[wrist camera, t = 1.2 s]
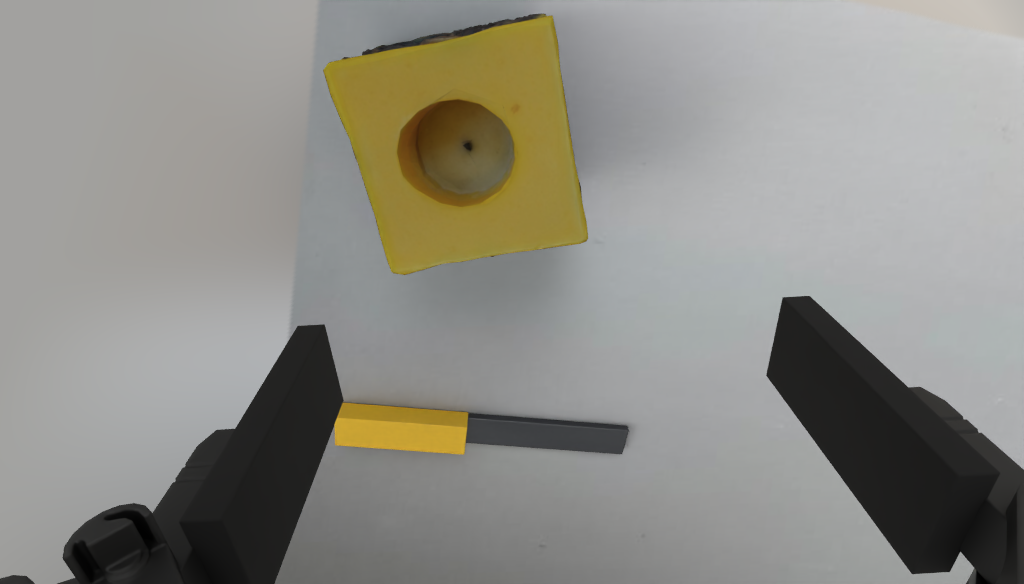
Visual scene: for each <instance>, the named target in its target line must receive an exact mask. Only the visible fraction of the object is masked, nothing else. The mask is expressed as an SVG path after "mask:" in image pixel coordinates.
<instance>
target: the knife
mask: <svg viewBox="0 0 1024 584" xmlns="http://www.w3.org/2000/svg"><path fill="white" fill-rule="evenodd" d="M628 432H629V430H628V427H627V426H622V425H609V424H596V423H584V422H571V421H558V420H545V419H532V418H520V417H507V416H494V415H481V414H468V412H457V411H444V410H432V409H419V408H406V407H393V406H381V405H368V404H355V403H342V406H341V408H340V411H339V414H338V416H337V419H336V422H335V445H339V446H352V447H366V448H380V449H394V450H408V451H422V452H436V453H450V454H464V453H465V444H466V443H477V444H490V445H504V446H517V447H531V448H545V449H558V450H572V451H585V452H599V453H612V454H622V452H623V449H624V445H625V442H626V438H627V435H628Z"/></svg>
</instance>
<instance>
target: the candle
mask: <svg viewBox="0 0 1024 584" xmlns="http://www.w3.org/2000/svg"><path fill="white" fill-rule="evenodd" d="M323 71H324V74H325V78H326V81H327V84H328V88H329V91H330V94H331V97H332V99H333V102H334V104H335V107H336V109H337V112H338V114H339V117H340V119H341V121H342V124H343V126H344V128H345V130H346V132H347V134H348V136H349V139H350V141H351V145H352V148H353V151H354V155H355V158H356V160H357V162H358V165H359V169H360V172H361V175H362V178H363V181H364V184H365V188H366V191H367V194H368V197H369V200H370V203H371V206H372V208H373V211H374V214H375V218H376V222H377V226H378V230H379V233H380V237H381V241H382V244H383V247H384V251H385V254H386V258H387V261H388V264H389V266H390V269H391V271H392V272H393V273H396V274H403V275H406V274H410V273H413V272H417V271H421V270H424V269H427V268H431V267H434V266H437V265H440V264H443V263H453V262H463V261H468V260H473V259H477V258H483V257H489V256H490V257H493V256H495V255H501V254H507V253H514V252H522V251H530V250H538V249H545V248H552V247H559V246H566V245H574V244H580V243H583V242H585V241H587V239H588V233H587V224H586V218H585V214H584V209H583V204H582V197H581V186H580V183H579V180H578V175H577V171H576V166H575V160H574V154H573V148H572V141H571V135H570V128H569V122H568V115H567V109H566V102H565V95H564V89H563V83H562V77H561V72H560V62H559V50H558V41H557V36H556V31H555V26H554V21H553V16H546V14H533V15H529V16H527V17H526V16H524V17H523V18H522V17H521V18H516V19H515V20H509V19H507V20H502V21H498V22H494V23H489V24H488V25H483V26H482V25H478V26H474V27H469V28H466V29H464V30H459V31H454V32H452V33H441V34H434V35H429V36H425V37H420V38H418V39H415V40H412V41H408V42H401V43H396V44H393V45H388V46H385V45H381V46H379V47H376V48H374V49H372V50H369V49H368V50H366V51H365V52H363V54H362V56H358V57H352V58H348V57H344V58H343V59H341V60H338V61H334V62H330V63H328V64H327V66H326V67H325V69H324V70H323Z"/></svg>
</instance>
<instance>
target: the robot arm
mask: <svg viewBox="0 0 1024 584" xmlns="http://www.w3.org/2000/svg"><path fill="white" fill-rule="evenodd" d="M766 376H767V377H768V378H769V380H770V381H771V382H772V384H773V385H774V386H775V388H776V389H777V391H778V392H779V393H780V395H781V396H782V397H783V399H784V400H785V401H786V403H787V404H788V406H789V407H790V408H791V410H792V411H793V412H794V414H795V415H796V416H797V418H798V419H799V421H800V422H801V423H802V425H803V426H804V427H805V429H806V430H807V431H808V433H809V434H810V436H811V437H812V438H813V440H814V441H815V442H816V444H817V445H818V446H819V448H820V449H821V451H822V452H823V453H824V455H825V456H826V457H827V459H828V460H829V461H830V463H831V464H832V466H833V467H834V468H835V470H836V471H837V472H838V474H839V475H840V476H841V478H842V479H843V481H844V482H845V483H846V485H847V486H848V487H849V489H850V490H851V491H852V493H853V494H854V496H855V497H856V498H857V500H858V501H859V502H860V504H861V505H862V506H863V508H864V509H865V511H866V512H867V513H868V515H869V516H870V517H871V519H872V520H873V521H874V523H875V524H876V526H877V527H878V528H879V530H880V531H881V532H882V534H883V535H884V536H885V538H886V539H887V541H888V542H889V543H890V545H891V546H892V547H893V549H894V550H895V551H896V553H897V554H898V556H899V557H900V558H901V560H902V561H903V562H904V564H905V565H906V566H907V568H908V569H909V571H910V572H911V573H912V574H920V573H937V572H950V570H951V568H952V566H953V565H954V563H955V561H956V559H957V557H958V555H959V553H960V551H961V552H962V554H963V555H964V556H965V557H966V558H967V560H968V561H969V562H970V563H971V564H972V565H973V567H974V570H973V572H972V574H971V576H970V578H969V579H968V581H967V583H966V584H1024V470H1023V469H1022V468H1021V467H1020V466H1019V465H1017V464H1016V463H1015V462H1014V461H1013V460H1012V459H1011V458H1010V457H1008V456H1007V455H1006V454H1005V453H1004V452H1003V451H1002V450H1000V449H999V448H998V447H997V446H996V445H995V444H994V443H992V442H991V441H990V440H989V439H988V438H987V437H986V436H985V435H983V434H982V433H978V429H977V428H975V427H974V426H973V425H972V424H971V423H970V422H969V421H967V420H964V419H963V416H962V415H961V414H960V413H958V412H957V411H956V410H955V409H954V408H953V407H952V406H950V405H949V404H948V403H947V402H946V401H945V400H943V399H941V398H939V397H938V396H936V395H934V394H932V393H930V392H928V391H927V390H925V389H923V388H921V387H911V388H908V387H907V386H906V385H905V384H904V383H903V382H902V381H901V380H900V379H899V378H898V377H896V376H895V375H894V374H893V373H892V372H891V371H890V370H889V369H888V368H887V367H886V366H885V365H883V364H882V363H881V362H880V361H879V360H878V359H877V358H876V357H875V356H874V355H873V354H872V353H871V352H869V351H868V350H867V349H866V348H865V347H864V346H863V345H862V344H861V343H860V342H859V341H858V340H856V339H855V338H854V337H853V336H852V335H851V334H850V333H849V332H848V331H847V330H846V329H845V328H844V327H842V326H841V325H840V324H839V323H838V322H837V321H836V320H835V319H834V318H833V317H832V316H831V315H829V314H828V313H827V312H826V311H825V310H824V309H823V308H822V307H821V306H820V305H819V304H818V303H817V302H815V301H814V300H813V299H812V298H811V297H810V296H801V297H784V298H783V299H782V304H781V308H780V313H779V318H778V323H777V328H776V332H775V337H774V342H773V347H772V351H771V356H770V361H769V366H768V370H767V375H766ZM342 403H343V397H342V393H341V388H340V384H339V380H338V376H337V372H336V368H335V364H334V360H333V356H332V352H331V348H330V344H329V340H328V336H327V332H326V328H325V324H324V325H307V326H297V328H296V330H295V331H294V333H293V335H292V336H291V338H290V340H289V341H288V343H287V345H286V346H285V348H284V350H283V351H282V353H281V355H280V356H279V358H278V360H277V361H276V363H275V364H274V366H273V368H272V369H271V371H270V373H269V374H268V376H267V377H266V379H265V381H264V383H263V384H262V386H261V387H260V389H259V391H258V392H257V394H256V396H255V397H254V399H253V401H252V402H251V404H250V405H249V407H248V409H247V410H246V412H245V414H244V415H243V417H242V419H241V420H240V422H239V424H238V425H237V427H236V429H225V430H216V431H215V432H214V433H212V434H211V435H210V436H209V437H208V438H206V439H205V440H204V441H203V442H202V443H200V444H199V445H198V446H197V447H196V449H195V450H194V452H193V453H192V455H191V457H190V458H189V459H188V461H187V462H186V466H185V467H184V468H182V470H181V471H180V473H179V475H178V476H177V477H176V481H175V482H174V483H172V485H171V486H170V488H169V489H168V491H167V492H166V494H165V495H164V497H163V498H162V500H161V501H160V503H159V504H158V506H157V507H156V509H155V510H154V512H153V513H152V512H151V511H150V510H149V509H148V508H147V507H146V506H144V505H140V504H135V503H133V504H126V505H119V506H117V507H114V508H111V509H109V510H106V511H104V512H102V513H100V514H98V515H97V516H95V517H93V518H92V519H90V520H89V521H87V522H86V523H85V524H83V525H82V526H81V527H80V528H79V529H78V530H77V531H76V532H75V533H74V534H73V535H72V536H71V538H70V539H69V541H68V542H67V544H66V545H65V547H64V553H63V560H64V561H65V563H66V564H67V566H68V567H69V568H70V570H71V571H72V573H73V574H74V576H75V577H76V578H73V579H70V580H67V581H64V582H61V583H58V584H274V583H275V580H276V578H277V575H278V572H279V570H280V567H281V564H282V562H283V559H284V556H285V554H286V551H287V549H288V546H289V543H290V541H291V538H292V535H293V533H294V530H295V527H296V525H297V522H298V519H299V517H300V514H301V512H302V509H303V506H304V504H305V501H306V498H307V496H308V493H309V490H310V488H311V485H312V482H313V480H314V477H315V475H316V472H317V469H318V467H319V464H320V461H321V459H322V456H323V453H324V451H325V448H326V445H327V443H328V440H329V438H330V435H331V432H332V430H333V427H334V424H335V422H336V419H337V416H338V414H339V411H340V408H341V406H342ZM0 584H34V582H33V581H31V580H30V579H29V578H28V577H27V576H16V575H12V576H9V577H5V578H1V579H0Z"/></svg>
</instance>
